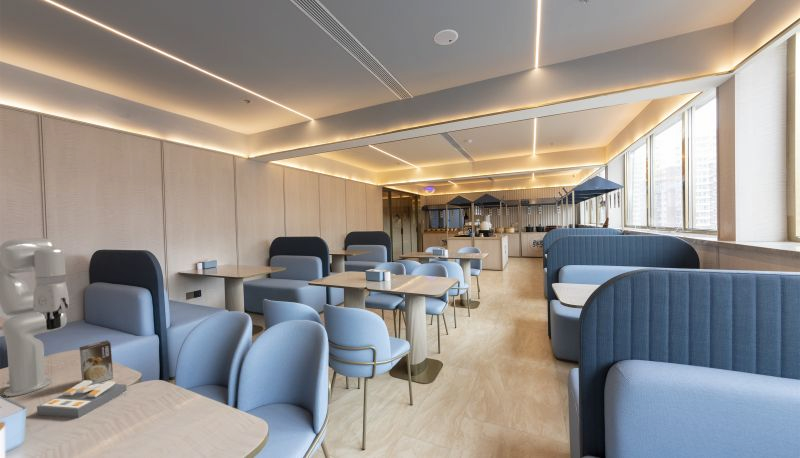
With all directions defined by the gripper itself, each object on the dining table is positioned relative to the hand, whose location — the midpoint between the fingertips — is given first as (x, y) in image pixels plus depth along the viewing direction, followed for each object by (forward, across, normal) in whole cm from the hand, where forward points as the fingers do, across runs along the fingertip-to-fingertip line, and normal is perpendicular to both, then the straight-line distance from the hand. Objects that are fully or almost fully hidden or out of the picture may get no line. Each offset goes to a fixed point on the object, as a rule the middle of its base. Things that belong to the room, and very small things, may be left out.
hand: (53, 328), depth 113 cm
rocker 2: (+25, +10, +4) cm, 27 cm away
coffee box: (+29, -4, +16) cm, 34 cm away
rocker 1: (+25, +4, +4) cm, 26 cm away
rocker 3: (+25, +16, +4) cm, 30 cm away
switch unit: (+29, +10, +2) cm, 31 cm away
